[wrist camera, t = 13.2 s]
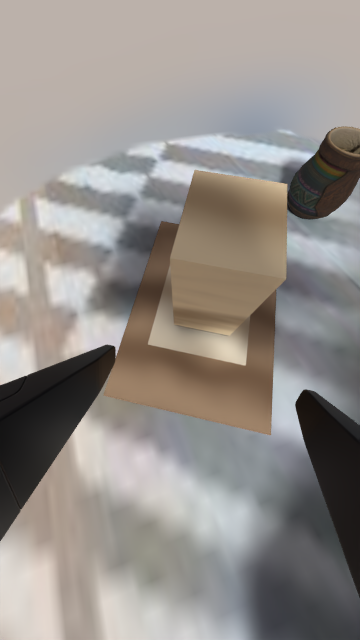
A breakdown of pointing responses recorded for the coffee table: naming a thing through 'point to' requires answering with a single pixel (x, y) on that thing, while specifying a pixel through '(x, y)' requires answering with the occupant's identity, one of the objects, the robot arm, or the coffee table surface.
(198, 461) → the coffee table surface
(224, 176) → the tan rectangular block
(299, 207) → the mate gourd
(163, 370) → the loading dock
